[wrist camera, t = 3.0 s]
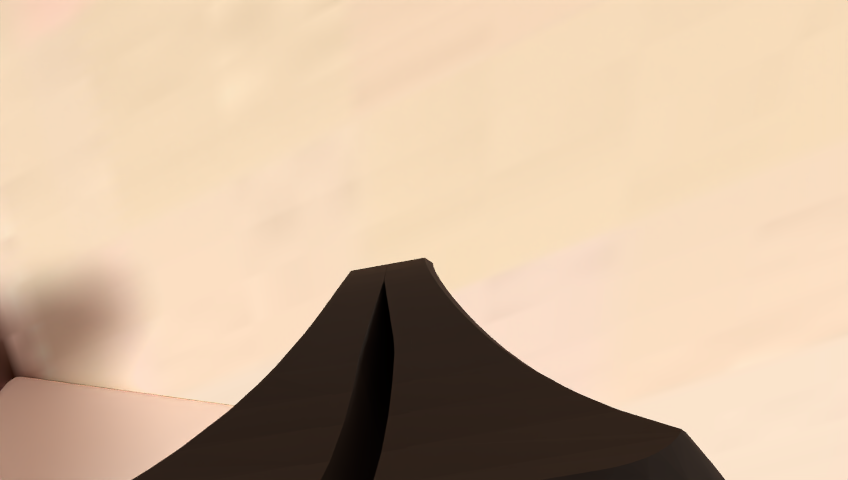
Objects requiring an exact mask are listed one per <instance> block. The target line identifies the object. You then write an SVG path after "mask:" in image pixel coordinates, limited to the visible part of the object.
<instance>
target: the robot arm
mask: <svg viewBox="0 0 848 480" xmlns="http://www.w3.org/2000/svg"><path fill="white" fill-rule="evenodd" d="M132 480H725V479H724V478H723V476H722V475H721V474H720V473H719V471H718V470H717V469H716V468H715V466H714V465H713V464H712V463H711V462H710V460H709V459H708V458H707V457H706V456H705V454H704V453H703V452H702V451H701V450H700V448H699V447H698V446H697V445H696V444H695V443H694V441H693V440H692V439H691V438H690V437H689V436H688V434H687V433H686V432H685V431H683V430H682V429H679V428H676V427H672V426H669V425H666V424H663V423H659V422H656V421H653V420H650V419H646V418H643V417H640V416H637V415H633V414H630V413H627V412H623V411H620V410H618V409H615V408H612V407H610V406H607V405H605V404H602V403H600V402H598V401H595V400H593V399H590V398H588V397H586V396H583V395H581V394H579V393H577V392H574V391H572V390H570V389H568V388H566V387H564V386H562V385H561V384H559V383H557V382H555V381H553V380H551V379H550V378H548V377H546V376H544V375H542V374H540V373H539V372H537V371H535V370H534V369H532V368H531V367H529V366H528V365H526V364H525V363H523V362H522V361H521V360H519V359H518V358H516V357H515V356H514V355H512V354H511V353H510V352H508V351H507V350H506V349H505V348H503V347H502V346H501V345H500V344H498V343H497V342H496V341H495V340H494V339H493V338H491V337H490V336H489V335H488V334H487V333H486V332H485V331H484V330H483V329H482V328H481V327H480V326H479V325H478V324H476V323H475V321H474V320H473V319H472V318H471V317H470V316H469V315H468V314H467V313H466V312H465V311H464V310H463V309H462V307H461V306H460V305H459V304H458V303H457V302H456V300H455V299H454V298H453V297H452V296H451V294H450V293H449V292H448V290H447V289H446V288H445V286H444V285H443V283H442V282H441V280H440V279H439V277H438V276H437V274H436V272H435V270H434V267H433V263H432V262H430V261H429V260H427V259H426V258H421V259H415V260H409V261H404V262H398V263H393V264H387V265H381V266H376V267H370V268H365V269H359V270H353V271H351V272H350V273H349V274H348V276H347V277H346V278H345V280H344V281H343V282H342V284H341V285H340V287H339V288H338V289H337V291H336V292H335V293H334V295H333V296H332V298H331V299H330V300H329V302H328V303H327V305H326V306H325V307H324V309H323V310H322V312H321V313H320V314H319V316H318V317H317V318H316V319H315V321H314V322H313V323H312V325H311V326H310V327H309V329H308V330H307V331H306V332H305V334H304V335H303V336H302V337H301V338H300V339H299V340H298V342H297V343H296V344H295V345H294V346H293V347H292V349H291V350H290V351H289V352H288V353H287V354H286V355H285V357H284V358H283V359H282V360H281V361H280V362H279V363H278V365H277V366H276V367H275V368H274V369H273V370H272V371H271V372H270V373H269V374H268V375H267V376H266V377H265V378H264V379H263V380H262V381H261V382H260V383H259V384H258V385H257V386H256V387H255V388H253V389H252V390H251V391H250V392H249V393H248V394H247V395H246V396H245V397H244V398H243V399H241V400H240V401H239V402H238V403H237V404H236V405H235V406H234V407H232V408H231V409H230V410H229V411H228V412H226V413H225V414H224V415H223V416H221V417H220V418H219V419H217V420H216V421H215V422H213V423H212V424H211V425H210V426H208V427H207V428H206V429H204V430H203V431H202V432H200V433H199V434H198V435H197V436H195V437H194V438H193V439H191V440H190V441H189V442H187V443H186V444H185V445H184V446H182V447H181V448H179V449H178V450H177V451H175V452H174V453H172V454H171V455H169V456H168V457H166V458H165V459H163V460H162V461H160V462H159V463H157V464H156V465H154V466H153V467H151V468H150V469H148V470H147V471H145V472H143V473H142V474H140V475H139V476H137V477H135V478H134V479H132Z"/></svg>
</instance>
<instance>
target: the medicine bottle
mask: <svg viewBox="0 0 848 480" xmlns="http://www.w3.org/2000/svg"><path fill="white" fill-rule="evenodd" d="M232 407H234V406H232V405H225V404H217V403H210V402H203V401H195V400H188V399H181V398H174V397H166V396H159V395H152V394H144V393H137V392H130V391H122V390H115V389H108V388H101V387H93V386H86V385H79V384H71V383H64V382H57V381H49V380H42V379H35V378H28V377H15V378H14V379H12V380H10V381H9V382H7V383H6V385H5V386H4V387H3V388H2V390H1V391H0V480H132V479H134V478H135V477H137V476H139V475H140V474H142V473H143V472H145V471H147V470H148V469H150V468H151V467H153V466H154V465H156V464H157V463H159V462H160V461H162V460H163V459H165V458H166V457H168V456H169V455H171V454H172V453H174V452H175V451H177V450H178V449H179V448H181V447H182V446H184V445H185V444H186V443H187V442H189V441H190V440H191V439H193V438H194V437H195V436H197V435H198V434H199V433H200V432H202V431H203V430H204V429H206V428H207V427H208V426H210V425H211V424H212V423H213V422H215V421H216V420H217V419H219V418H220V417H221V416H223V415H224V414H225V413H226V412H228V411H229V410H230V409H231V408H232Z"/></svg>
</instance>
